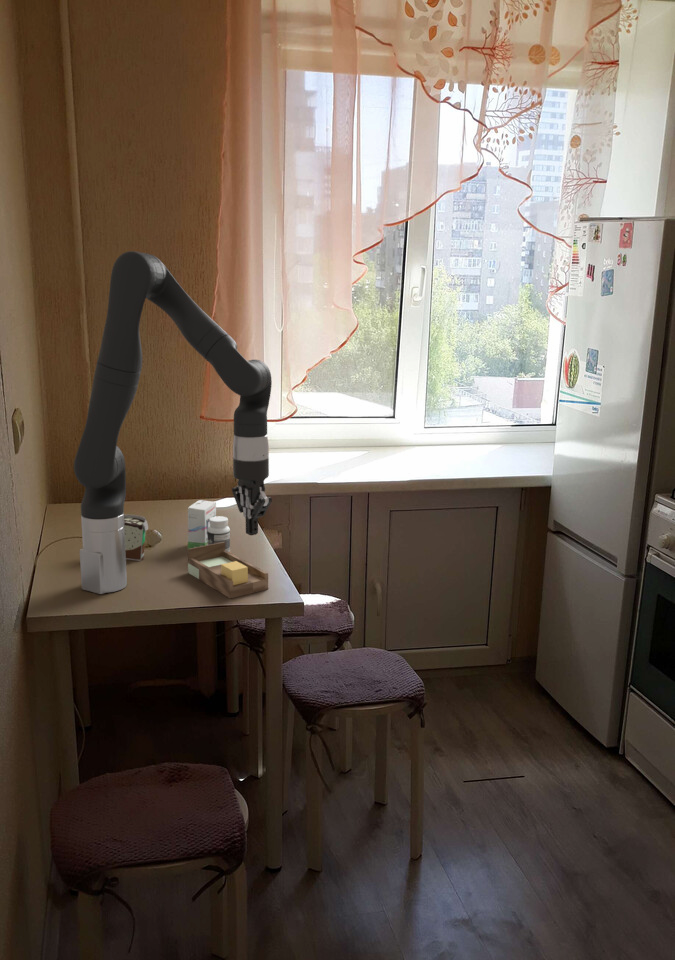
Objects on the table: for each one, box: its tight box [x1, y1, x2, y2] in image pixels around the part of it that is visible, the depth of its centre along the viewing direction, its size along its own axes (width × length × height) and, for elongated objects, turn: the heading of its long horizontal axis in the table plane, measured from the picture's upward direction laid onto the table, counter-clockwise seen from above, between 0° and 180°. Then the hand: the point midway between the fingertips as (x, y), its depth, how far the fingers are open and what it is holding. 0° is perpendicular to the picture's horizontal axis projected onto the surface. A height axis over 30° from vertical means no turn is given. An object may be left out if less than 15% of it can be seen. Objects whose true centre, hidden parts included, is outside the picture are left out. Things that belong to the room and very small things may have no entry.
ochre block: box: [221, 561, 248, 585], centre depth 188 cm, size 5×4×4 cm
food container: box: [124, 514, 149, 562], centre depth 210 cm, size 12×6×10 cm, turn 74°
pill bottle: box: [207, 515, 231, 553], centre depth 211 cm, size 6×6×10 cm
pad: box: [187, 556, 232, 580], centre depth 200 cm, size 6×9×2 cm, turn 127°
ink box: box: [187, 499, 217, 550], centre depth 217 cm, size 9×5×12 cm, turn 168°
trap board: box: [187, 542, 269, 599], centre depth 194 cm, size 20×10×6 cm, turn 37°
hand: (251, 533), depth 179 cm, fingers closed
